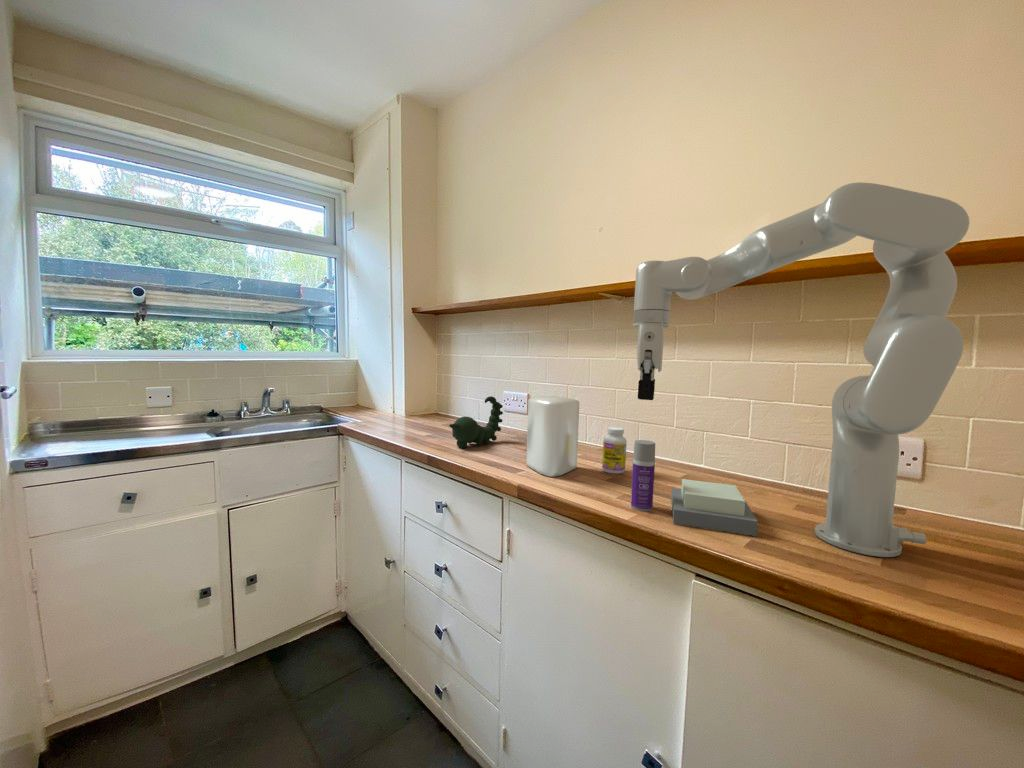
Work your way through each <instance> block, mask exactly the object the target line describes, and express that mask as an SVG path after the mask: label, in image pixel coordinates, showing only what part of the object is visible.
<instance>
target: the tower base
mask: <svg viewBox="0 0 1024 768" xmlns="http://www.w3.org/2000/svg"><path fill="white" fill-rule="evenodd" d="M670 501H671V502H670V503H671V513H672V514H673V515H672V524H673V523H675V524H674V525H678V524H679V526H684V525H686V526H685V527H690V526H694V527H693V528H697V527H701V528H700V529H703V528H707V529H706V530H710V529H712V530H711V531H716V530H718V531H719V530H720V531H719V532H723V531H727V532H726V533H729V532H733V533H732V534H736V533H739V534H738V535H742V534H746V535H745V536H749V535H752V536H751V537H755V536H758V523H759V521H758V519H757V518H756V516H755V514H754V513H753V511H752V510H751V507H750V506H749V504H748V503H747V501H746V500H745V498H744V497H743V495H742V494H741V492H740V491H739V489H738V487H737V485H735V484H726V483H719V482H710V481H709V482H708V481H704V480H703V481H702V480H693V479H685V478H682V479H681V488H676V487H675V488H673V487H672V488H671V497H670Z"/></svg>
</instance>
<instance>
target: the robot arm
mask: <svg viewBox="0 0 1024 768" xmlns="http://www.w3.org/2000/svg"><path fill="white" fill-rule="evenodd" d="M969 228H970V217H969V214H968V212H967V211H966V209H965V208H964V207H963V206H961V205H960V204H959V203H957V202H955V201H953V200H950V199H949V198H948V199H947V198H944V197H940V196H935V195H932V194H931V195H930V194H927V193H923V192H918V191H912V190H909V189H903V188H900V187H895V186H889V185H885V184H878V183H873V182H859V181H858V182H852V183H851V182H850V183H848V184H844V185H842V186H840V187H838V188H836V189H835V190H834V191H832V192H831V193H830V194H829V195H828V196H827V198H825V200H824V201H823V202H821V203H819V204H817V205H814V206H813V207H810V208H807V209H804V210H803V211H800V212H798V213H795V214H793V215H790V216H788V217H785V218H783V219H780V220H777V221H775V222H773V223H770V224H768V225H764V226H763V227H760V228H758V229H757V230H755V231H754V232H753V231H752V233H750V234H749V235H748V236H746V237H745V238H744V239H743V240H741V241H740V242H739V243H738V244H736V245H735V246H733V247H731V248H730V249H729V250H726V251H725V252H723V253H721V254H719V255H716V256H714V257H712V258H710V259H705V258H704V257H700V256H689V257H688V256H687V257H682V258H681V257H680V258H678V259H672V260H666V261H665V260H648V261H647V260H646V261H643V262H641V263H639V265H637V268H636V269H635V270H636V271H635V285H634V286H635V287H634V299H633V300H634V302H633V316H632V317H633V319H632V327H634V328H637V329H638V331H637V348H636V351H637V352H636V357H637V358H636V359H637V360H636V361H637V362H636V363H637V370H638V371H639V372H640V373H639V380H638V387H637V400H642V401H643V400H645V401H653V400H654V399H655V387H656V385H655V384H656V379H655V370H657V369H658V370H657V372H658V373H661V371H662V367H663V354H664V353H663V352H664V337H665V336H664V333H665V332H664V330H665V329H664V328H669V327H670V315H671V314H670V313H671V302H672V301H671V299H672V294H673V293H676V295H677V296H679V298H681V299H683V300H690V301H691V300H697V299H701V298H703V297H707V296H710V295H713V294H714V293H718V292H720V291H722V290H726V289H728V288H731V287H733V286H736V285H738V284H741V283H744V282H745V281H747V280H751V279H754V278H756V277H759V276H763V275H765V274H766V273H769V272H771V271H774V270H776V269H778V268H781V267H784V266H786V265H790V264H792V263H795V262H797V261H800V260H803V259H805V258H808V257H811V256H814V255H818V254H820V253H822V252H825V251H829V250H831V249H833V248H836V247H839V246H841V245H844V244H845V243H848V242H850V241H852V240H853V239H855V238H856V237H862V238H864V239H868V240H871V241H873V244H872V253H873V256H874V258H875V259H876V261H877V262H878V263H879V265H881V266H882V267H883V268H884V270H885V272H886V273H887V275H888V277H889V290H888V293H887V294H886V295H887V296H886V297H885V300H884V303H883V305H882V307H881V309H880V311H879V314H878V316H877V318H875V321H874V324H873V326H872V327H871V329H870V332H869V333H868V335H867V337H866V339H865V341H864V345H863V355H864V358H865V361H867V363H869V364H870V365H871V366H873V368H872V370H871V373H870V374H869V375H858V376H854V377H852V378H849V379H847V380H846V381H844V382H843V383H841V384H840V385H839V386H838V387H837V388H836V390H835V392H834V393H833V396H832V400H831V415H832V416H831V418H832V445H831V456H830V457H831V458H830V466H829V467H830V468H829V477H828V478H829V480H828V491H827V492H828V493H827V504H826V513H825V516H826V517H825V522H821V523H818V524H816V525H815V527H814V533H815V535H816V536H817V537H818V538H819V539H821V540H823V541H824V542H826V543H828V544H830V545H832V546H835V547H837V548H840V549H843V550H845V551H849V552H853V553H857V554H861V555H864V556H865V555H866V556H871V557H879V558H894V557H898V556H901V554H902V549H903V547H902V545H901V543H903V544H904V542H910V543H911V544H913V543H914V544H919V545H925V544H926V543H927V536H926V534H925V533H924V532H917V531H910V530H909V528H906V527H899V526H897V525H895V524H893V520H894V509H895V500H896V490H897V479H898V469H899V463H900V462H899V461H900V439H899V438H900V437H899V435H904V434H908V433H910V432H914V431H915V430H917V429H919V428H920V427H921V426H922V425H924V423H925V422H926V421H927V420H928V419H929V418H930V417H931V415H932V414H933V412H934V410H935V408H936V406H937V404H938V402H939V401H940V399H941V397H942V395H943V394H944V391H945V390H946V388H947V386H948V384H949V382H950V381H951V379H952V378H953V377H952V376H953V375H954V373H955V371H956V369H957V367H958V365H959V363H960V360H961V358H962V355H963V352H964V351H963V350H964V338H963V337H964V336H963V335H962V332H961V330H960V329H959V327H958V326H957V325H956V324H955V322H953V321H952V320H950V319H947V318H946V317H947V314H948V313H949V310H950V307H951V305H952V303H953V301H954V299H955V295H956V292H957V287H958V275H957V273H956V270H955V267H954V264H953V263H952V262H951V260H950V258H949V257H948V255H947V254H946V252H948V251H950V249H952V248H954V247H955V246H956V245H957V244H958V243H960V242H961V241H962V240H963V239H964V238H965V237H966V235H967V233H968V230H969Z"/></svg>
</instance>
